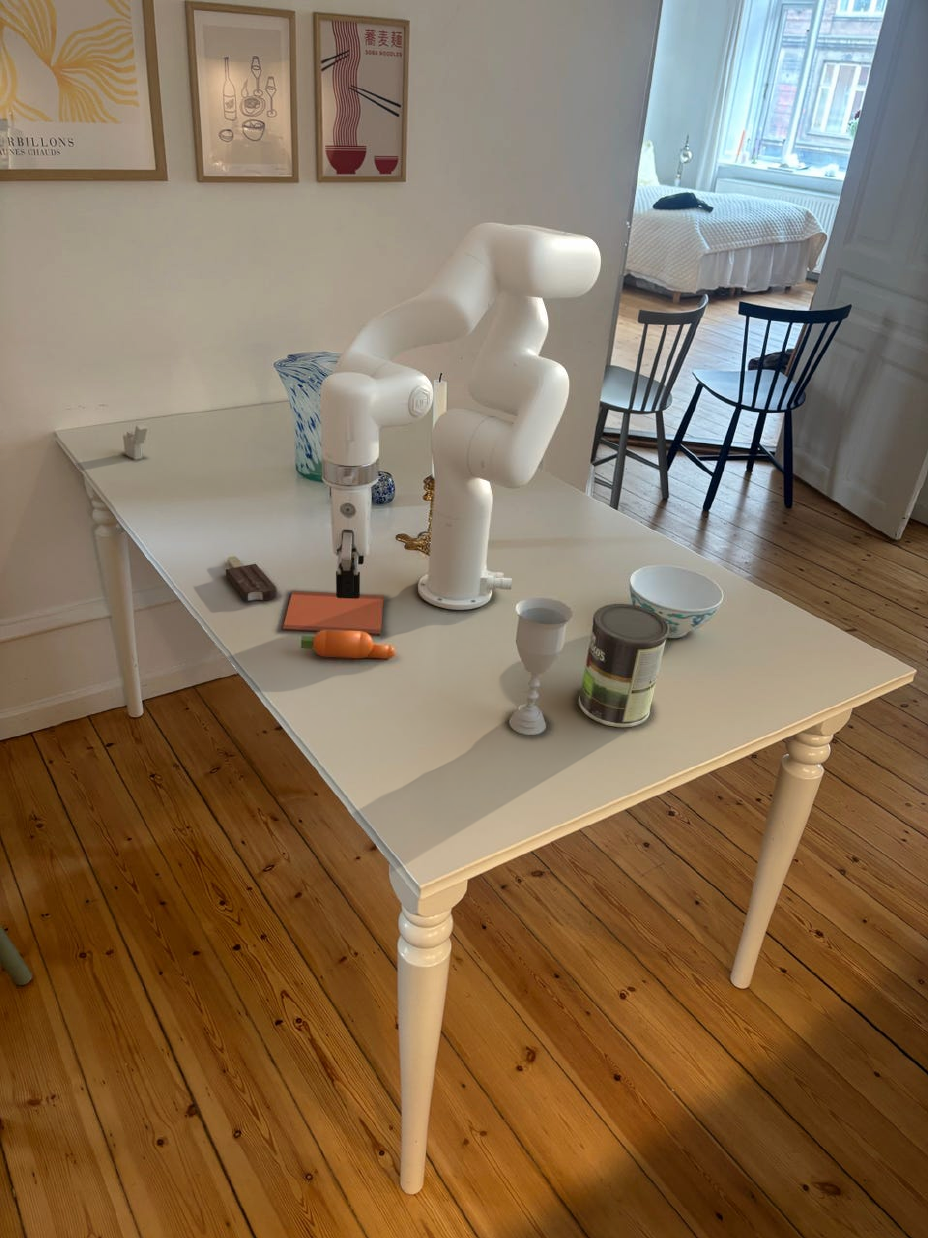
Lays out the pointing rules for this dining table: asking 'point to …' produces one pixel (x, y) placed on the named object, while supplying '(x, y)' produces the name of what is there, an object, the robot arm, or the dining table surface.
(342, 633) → the carrot
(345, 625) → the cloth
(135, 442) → the white jagged block
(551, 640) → the chalice
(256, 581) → the ice cream bar
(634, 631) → the coffee can
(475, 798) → the dining table surface
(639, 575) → the chinaware
